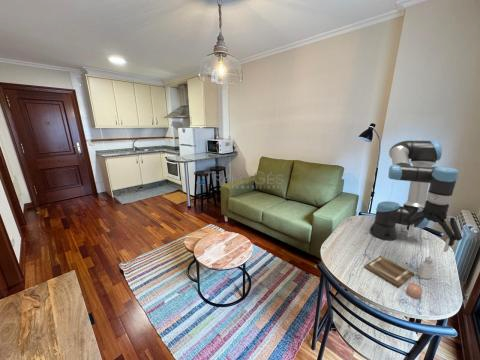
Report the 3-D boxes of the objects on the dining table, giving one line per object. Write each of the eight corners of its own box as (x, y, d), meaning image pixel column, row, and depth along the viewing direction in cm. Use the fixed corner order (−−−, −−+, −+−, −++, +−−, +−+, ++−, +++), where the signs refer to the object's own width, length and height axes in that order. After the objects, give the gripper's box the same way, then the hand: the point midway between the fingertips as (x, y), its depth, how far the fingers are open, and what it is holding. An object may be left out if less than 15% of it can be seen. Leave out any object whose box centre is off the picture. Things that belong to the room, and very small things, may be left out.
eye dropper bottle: (432, 281, 96) (438, 261, 92) (417, 277, 99) (423, 257, 95) (430, 276, 99) (436, 255, 96) (416, 271, 102) (421, 252, 99)
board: (379, 257, 113) (380, 253, 113) (414, 275, 100) (415, 271, 99) (363, 267, 106) (364, 263, 106) (398, 288, 93) (399, 284, 92)
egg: (409, 288, 93) (410, 281, 92) (422, 295, 88) (424, 288, 87) (403, 292, 90) (405, 285, 89) (417, 300, 86) (419, 293, 85)
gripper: (400, 195, 97) (392, 233, 103) (475, 214, 75) (460, 261, 81) (408, 192, 100) (400, 229, 106) (482, 210, 79) (467, 255, 85)
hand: (426, 243), depth 94 cm, fingers open, 13 cm apart
